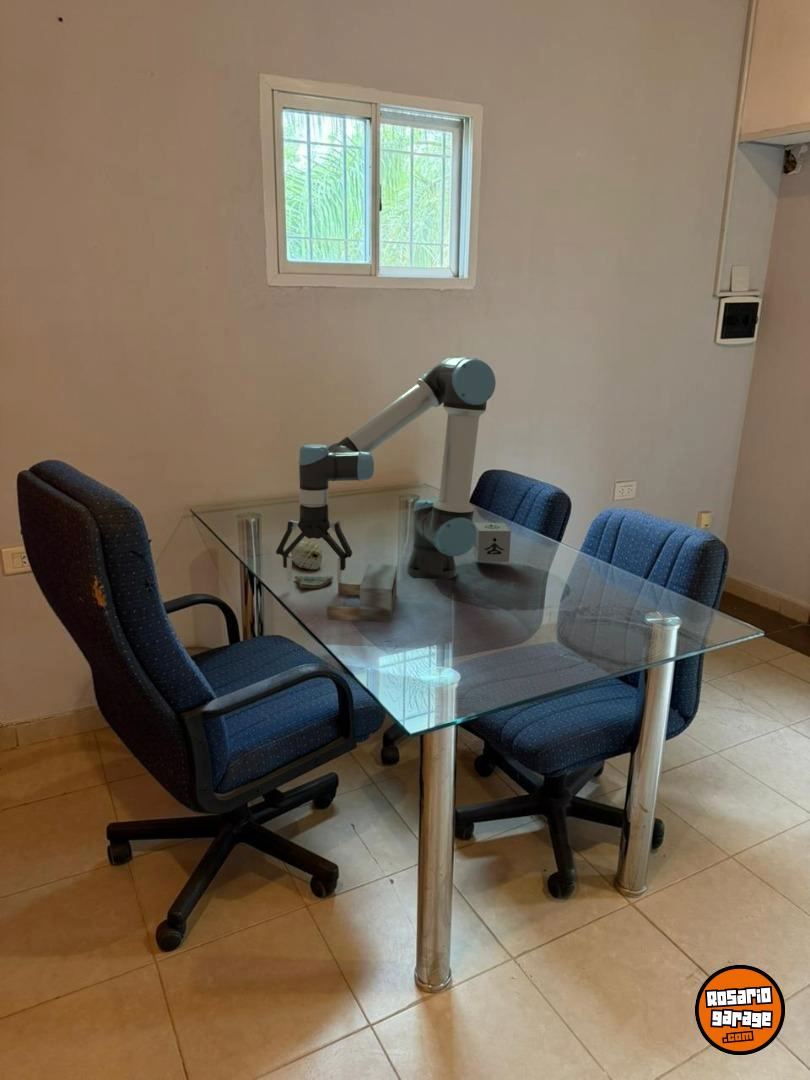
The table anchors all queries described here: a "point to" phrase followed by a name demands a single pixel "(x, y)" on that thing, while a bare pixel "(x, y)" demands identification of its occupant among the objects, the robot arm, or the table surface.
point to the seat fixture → (369, 595)
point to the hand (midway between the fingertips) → (314, 580)
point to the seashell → (307, 555)
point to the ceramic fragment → (313, 581)
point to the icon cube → (492, 542)
